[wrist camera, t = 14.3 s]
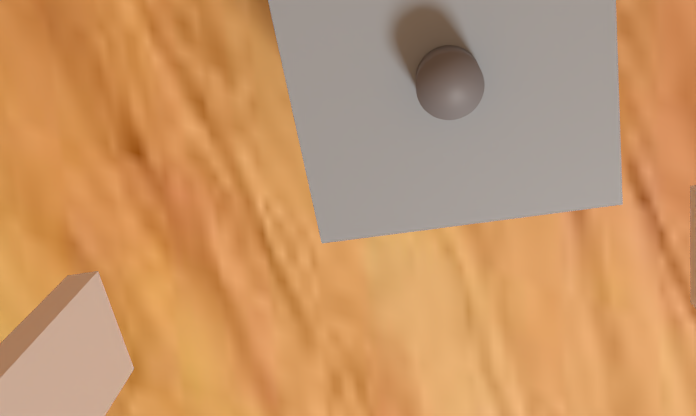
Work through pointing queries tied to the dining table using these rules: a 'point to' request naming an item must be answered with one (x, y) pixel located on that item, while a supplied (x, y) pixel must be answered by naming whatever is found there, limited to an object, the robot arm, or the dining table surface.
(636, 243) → the dining table surface
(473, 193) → the cover
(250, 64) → the dining table surface
